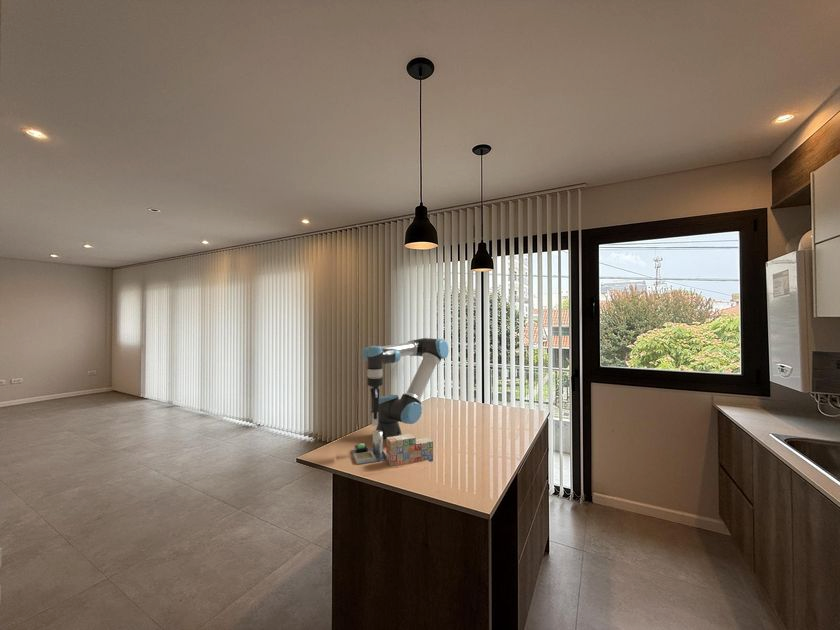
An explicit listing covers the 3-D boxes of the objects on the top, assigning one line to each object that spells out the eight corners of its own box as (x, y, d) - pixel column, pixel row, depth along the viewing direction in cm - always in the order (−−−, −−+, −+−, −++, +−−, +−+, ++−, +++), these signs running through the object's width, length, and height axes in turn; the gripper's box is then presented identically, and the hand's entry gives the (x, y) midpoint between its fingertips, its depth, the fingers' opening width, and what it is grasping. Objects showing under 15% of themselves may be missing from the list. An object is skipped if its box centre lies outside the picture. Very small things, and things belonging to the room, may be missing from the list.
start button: (364, 448, 170) (364, 442, 170) (365, 451, 166) (365, 445, 166) (356, 449, 168) (356, 443, 168) (358, 452, 165) (358, 446, 165)
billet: (381, 449, 170) (381, 429, 170) (383, 453, 166) (383, 432, 166) (371, 450, 169) (371, 430, 169) (373, 454, 164) (373, 433, 164)
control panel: (380, 448, 174) (380, 441, 174) (389, 462, 157) (389, 455, 157) (350, 452, 169) (350, 445, 169) (356, 467, 152) (356, 459, 152)
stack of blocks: (427, 456, 165) (427, 430, 165) (433, 461, 159) (433, 434, 159) (385, 463, 156) (386, 436, 156) (390, 469, 150) (390, 441, 151)
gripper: (366, 375, 173) (366, 421, 173) (368, 379, 161) (368, 429, 160) (380, 374, 175) (380, 420, 175) (384, 379, 163) (384, 428, 162)
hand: (374, 424), depth 168 cm, fingers closed
